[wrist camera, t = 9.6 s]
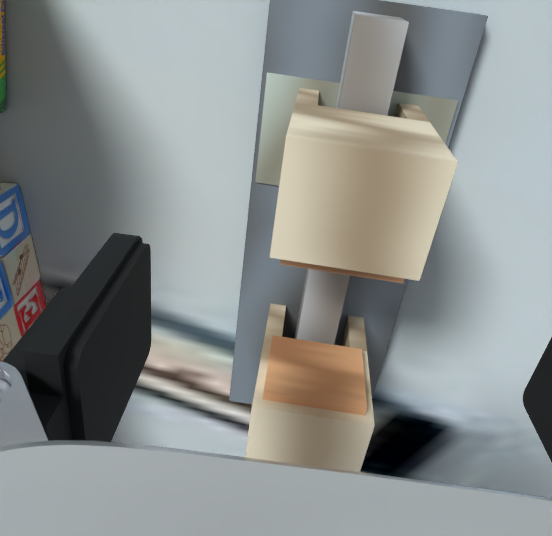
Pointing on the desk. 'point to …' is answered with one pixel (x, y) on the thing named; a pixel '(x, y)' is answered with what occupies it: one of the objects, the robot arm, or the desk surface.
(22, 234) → the stack of blocks
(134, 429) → the desk surface
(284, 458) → the rail fixture
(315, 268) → the block
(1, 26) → the chalk box
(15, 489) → the robot arm
